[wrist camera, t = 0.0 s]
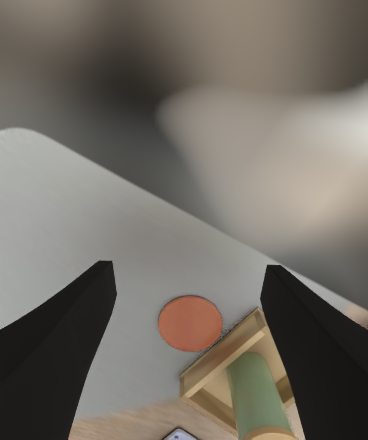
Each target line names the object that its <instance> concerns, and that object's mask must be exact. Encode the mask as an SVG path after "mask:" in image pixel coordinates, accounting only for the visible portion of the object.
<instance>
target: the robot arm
mask: <svg viewBox="0 0 368 440" xmlns="http://www.w3.org/2000/svg"><path fill="white" fill-rule="evenodd" d="M116 296H117V291H116V284H115V277H114V270H113V263H112V261H98V262H97V263H95V264H94V265H93V266H91V267H90V268H89V269H88V270H86V271H85V272H84V273H83V274H82V275H80V276H79V277H78V278H76V279H75V280H74V281H73V282H71V283H70V284H69V285H68V286H66V287H65V288H64V289H62V290H61V291H60V292H58V293H57V294H55V295H54V296H53V297H51V298H50V299H48V300H47V301H46V302H44V303H43V304H41V305H40V306H38V307H37V308H35V309H34V310H32V311H31V312H29V313H28V314H26V315H24V316H23V317H21V318H20V319H18V320H16V321H15V322H13V323H11V324H10V325H8V326H6V327H4V328H2V329H0V440H68V437H69V434H70V430H71V427H72V423H73V420H74V416H75V413H76V410H77V406H78V403H79V399H80V396H81V393H82V390H83V387H84V383H85V380H86V377H87V374H88V371H89V369H90V366H91V363H92V361H93V359H94V356H95V354H96V351H97V349H98V346H99V344H100V342H101V339H102V337H103V334H104V332H105V330H106V327H107V325H108V322H109V320H110V317H111V315H112V311H113V308H114V304H115V300H116ZM260 300H261V304H262V309H263V312H264V316H265V320H266V322H267V325H268V328H269V330H270V333H271V335H272V338H273V340H274V343H275V345H276V348H277V351H278V353H279V356H280V358H281V361H282V363H283V366H284V368H285V371H286V374H287V377H288V379H289V382H290V386H291V389H292V393H293V396H294V399H295V403H296V406H297V410H298V413H299V417H300V421H301V424H302V428H303V432H304V435H305V439H306V440H368V330H366V329H365V328H363V327H362V326H360V325H359V324H357V323H356V322H354V321H352V320H351V319H350V318H348V317H347V316H345V315H344V314H342V313H341V312H340V311H338V310H337V309H335V308H334V307H333V306H331V305H330V304H329V303H327V302H326V301H325V300H323V299H322V298H321V297H319V296H318V295H317V294H316V293H314V292H313V291H312V290H311V289H309V288H308V287H307V286H306V285H304V284H303V283H302V282H301V281H300V280H298V279H297V278H296V277H295V276H294V275H292V274H291V273H290V272H289V271H287V270H286V269H285V268H284V267H282V266H281V265H267V268H266V273H265V278H264V282H263V287H262V292H261V297H260ZM164 440H197V439H196V438H194V437H192V436H191V435H189V434H188V433H186V432H185V431H183V430H182V429H176V430H175V431H174V432H172V433H171V434H170V435H169V436H167V437H166V438H165V439H164Z"/></svg>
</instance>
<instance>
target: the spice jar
mask: <svg viewBox="0 0 368 440" xmlns="http://www.w3.org/2000/svg"><path fill="white" fill-rule="evenodd" d="M226 373H227V379H228V384H229V390H230V395H231V401H232V407H233V412H234V418H235V423H236V429H237V435H238V440H299V439H298V437H297V436H296V435H295V432H294V429H293V427H292V424H291V422H290V419H289V417H288V414H287V411H286V409H285V406H284V404H283V401H282V398H281V396H280V393H279V391H278V388H277V385H276V383H275V380H274V378H273V375H272V373H271V370H270V367H269V365H268V362H267V361H266V359H265V358H264V357H263V356H261V355H260V354H257V353H254V352H244V353H242V354H241V355H240V356H239V357H238V358H236V359H235V360H234V361H233V362H232V363H230V364H229V365H228V366H227V367H226Z"/></svg>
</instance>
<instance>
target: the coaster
mask: <svg viewBox="0 0 368 440" xmlns="http://www.w3.org/2000/svg"><path fill="white" fill-rule="evenodd" d="M158 327H159V331H160V334H161V336H162V338H163V339H164V340H165V341H166V342H167V343H168V344H169V345H170V346H172V347H174V348H176V349H178V350H182V351H189V352H193V351H199V350H203V349H205V348H207V347H209V346H211V345H212V344H213V343H214V342H215V341H216V340H217V339H218V338H219V336H220V334H221V331H222V318H221V315H220V312H219V310H218V309H217V308H216V306H215V305H214V304H212V303H211V302H210V301H208V300H206V299H204V298H201V297H198V296H183V297H179V298H176V299H174V300H172V301H171V302H169V303H168V304H167V305H166V306H165V307H164V308H163V310H162V311H161V314H160V316H159V322H158Z"/></svg>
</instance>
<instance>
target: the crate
mask: <svg viewBox="0 0 368 440" xmlns="http://www.w3.org/2000/svg"><path fill="white" fill-rule="evenodd" d="M244 352H254V353H257V354H260V355H261V356H263V357H264V358H265V359H266V361H267V362H268V365H269V367H270V370H271V373H272V375H273V378H274V380H275V383H276V385H277V388H278V391H279V393H280V396H281V398H282V401H283V404H284V406H285V409H286V408H287V407H289V406H290V405H292V404H293V403H294V402H295V399H294V396H293V393H292V389H291V386H290V382H289V379H288V377H287V374H286V371H285V368H284V366H283V363H282V361H281V358H280V356H279V353H278V351H277V348H276V345H275V343H274V340H273V338H272V335H271V333H270V330H269V328H268V325H267V322H266V320H265V316H264V312H262V311H261V310H260V309H259V308H256V309H255V310H254V311H253V312H252V313H251V314H250V315H249V316H247V317H246V318H245V319H244V320H243V321H242V322H241V323H239V324H238V325H237V326H236V327H235V328H234V329H233V330H231V331H230V332H229V333H228V334H227V335H226V336H225V337H223V338H222V339H221V340H220V341H219V342H218V343H217V344H215V345H214V346H213V347H212V348H211V349H210V350H209V351H207V352H206V353H205V354H204V355H203V356H202V357H201V358H199V359H198V360H197V361H196V362H195V363H194V364H193V365H192V366H190V367H189V368H188V369H187V370H186V371H185V372H184V373H182V374H181V375H180V399H181V400H182V401H184V402H185V403H187V404H188V405H190V406H191V407H193V408H194V409H196V410H197V411H199V412H200V413H202V414H203V415H205V416H206V417H208V418H209V419H210V420H212V421H213V422H215V423H216V424H218V425H219V426H221V427H222V428H224V429H225V430H227V431H228V432H230V433H231V434H233V435H234V436H236V437H237V438H238V435H237V429H236V423H235V418H234V412H233V407H232V401H231V395H230V390H229V384H228V379H227V373H226V367H227V366H228V365H229V364H230V363H232V362H233V361H234V360H235V359H236V358H238V357H239V356H240V355H241V354H242V353H244Z"/></svg>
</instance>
